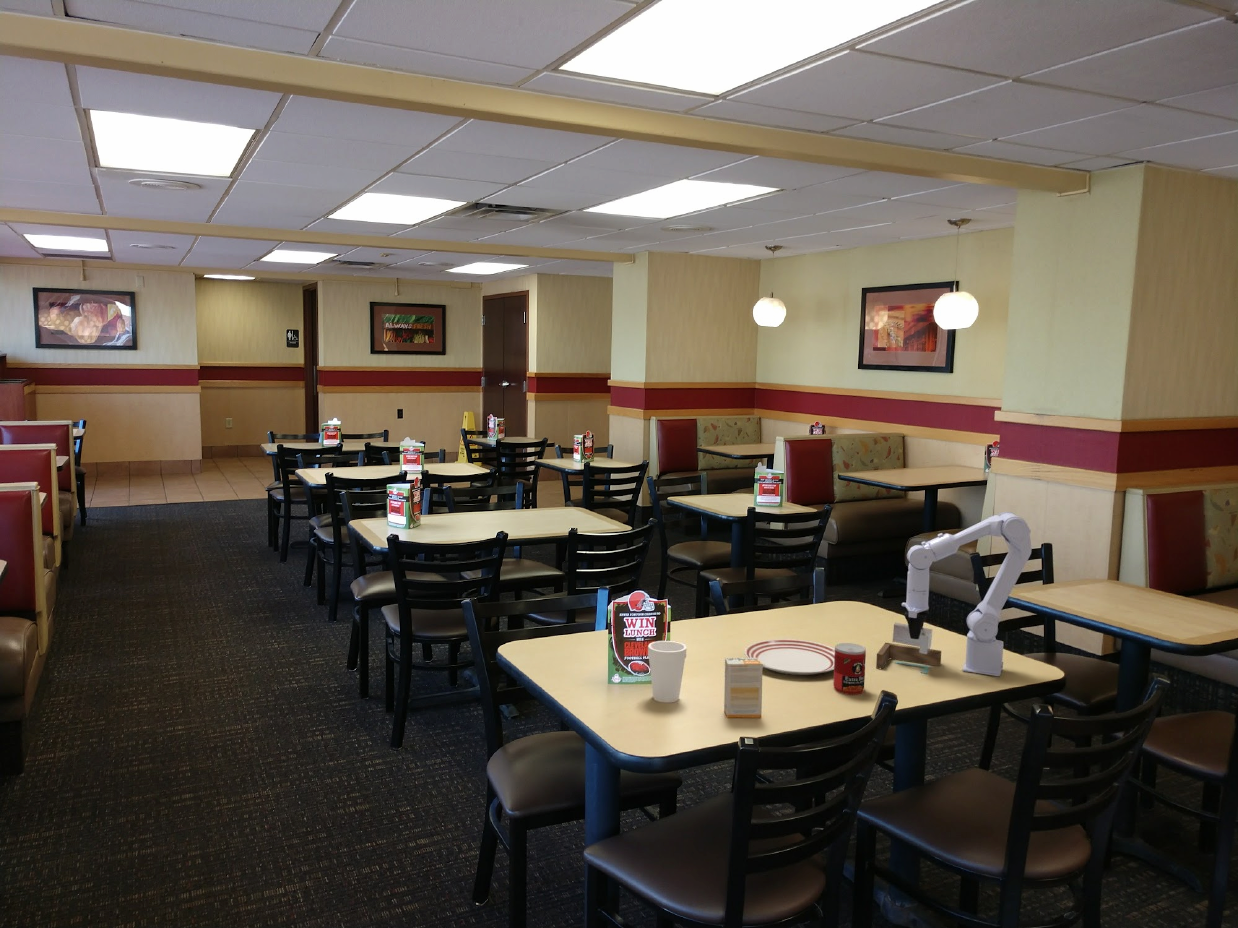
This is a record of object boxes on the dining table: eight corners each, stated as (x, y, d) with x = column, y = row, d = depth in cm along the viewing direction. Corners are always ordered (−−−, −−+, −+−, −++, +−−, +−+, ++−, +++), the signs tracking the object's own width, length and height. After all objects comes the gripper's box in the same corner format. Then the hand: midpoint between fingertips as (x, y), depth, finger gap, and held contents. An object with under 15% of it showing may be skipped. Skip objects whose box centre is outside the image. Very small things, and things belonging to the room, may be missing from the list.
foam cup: (693, 698, 219) (694, 646, 218) (667, 707, 213) (668, 654, 211) (664, 688, 226) (665, 638, 225) (639, 697, 219) (640, 645, 218)
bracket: (930, 646, 247) (932, 629, 246) (926, 654, 241) (928, 636, 240) (893, 639, 251) (895, 622, 251) (889, 646, 245) (890, 629, 244)
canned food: (843, 695, 223) (844, 652, 222) (827, 685, 231) (829, 643, 230) (870, 693, 225) (872, 650, 224) (853, 682, 233) (855, 641, 232)
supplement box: (757, 710, 212) (759, 656, 211) (761, 718, 207) (763, 663, 206) (723, 710, 212) (724, 656, 210) (726, 718, 207) (727, 663, 206)
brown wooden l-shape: (940, 664, 249) (941, 650, 249) (934, 677, 238) (935, 662, 238) (884, 656, 256) (885, 642, 256) (876, 667, 245) (876, 653, 245)
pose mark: (930, 666, 247) (930, 666, 247) (927, 673, 241) (927, 673, 241) (895, 661, 251) (895, 660, 251) (891, 667, 245) (891, 667, 245)
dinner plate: (856, 682, 234) (857, 669, 234) (752, 680, 234) (752, 668, 233) (831, 650, 261) (831, 639, 261) (737, 649, 261) (738, 638, 261)
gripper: (907, 582, 254) (904, 628, 256) (898, 592, 242) (895, 641, 243) (933, 585, 251) (930, 632, 253) (925, 596, 238) (922, 645, 240)
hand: (915, 637), depth 247 cm, fingers closed on bracket
